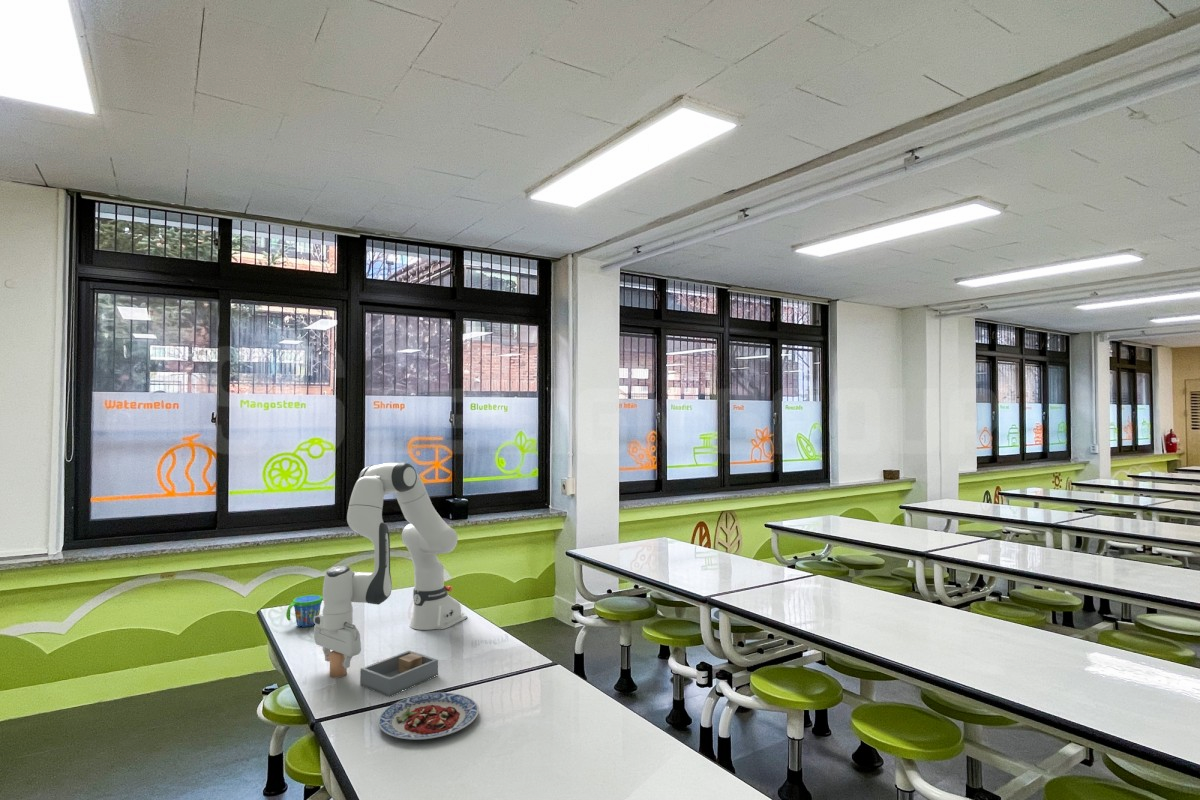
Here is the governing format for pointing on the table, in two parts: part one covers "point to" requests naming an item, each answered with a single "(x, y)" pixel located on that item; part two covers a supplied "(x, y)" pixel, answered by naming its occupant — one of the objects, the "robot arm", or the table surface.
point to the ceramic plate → (428, 716)
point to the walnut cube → (409, 662)
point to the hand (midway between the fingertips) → (337, 664)
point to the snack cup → (305, 609)
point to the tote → (396, 674)
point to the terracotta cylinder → (337, 664)
